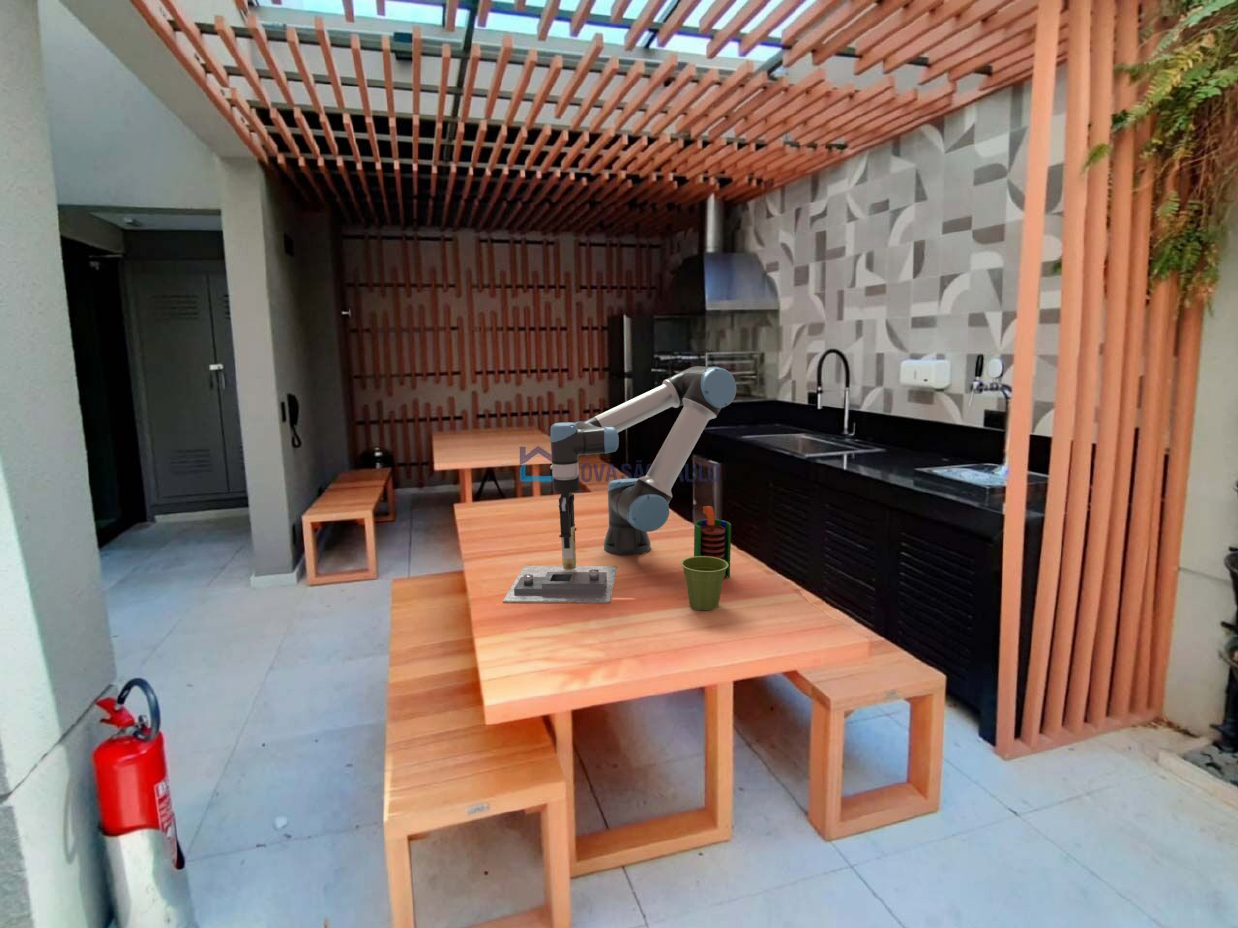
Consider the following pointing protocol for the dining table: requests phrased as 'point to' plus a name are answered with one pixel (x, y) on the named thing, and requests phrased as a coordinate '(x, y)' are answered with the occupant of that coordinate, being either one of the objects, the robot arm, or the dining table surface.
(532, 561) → the dining table surface
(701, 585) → the plant pot
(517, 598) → the square hole fixture plate
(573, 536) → the brass pin
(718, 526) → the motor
